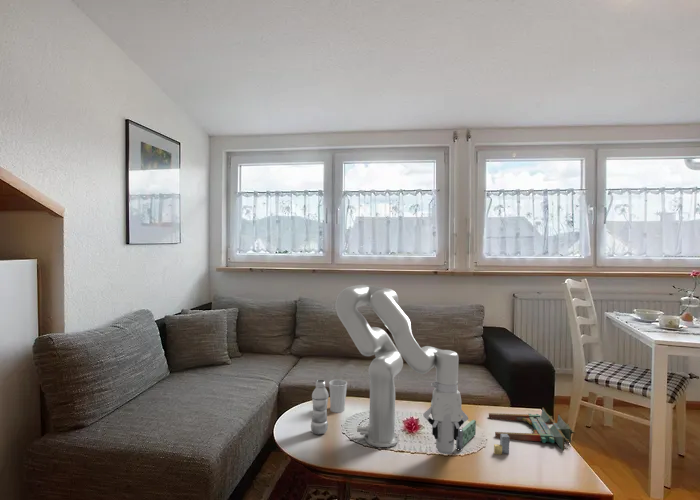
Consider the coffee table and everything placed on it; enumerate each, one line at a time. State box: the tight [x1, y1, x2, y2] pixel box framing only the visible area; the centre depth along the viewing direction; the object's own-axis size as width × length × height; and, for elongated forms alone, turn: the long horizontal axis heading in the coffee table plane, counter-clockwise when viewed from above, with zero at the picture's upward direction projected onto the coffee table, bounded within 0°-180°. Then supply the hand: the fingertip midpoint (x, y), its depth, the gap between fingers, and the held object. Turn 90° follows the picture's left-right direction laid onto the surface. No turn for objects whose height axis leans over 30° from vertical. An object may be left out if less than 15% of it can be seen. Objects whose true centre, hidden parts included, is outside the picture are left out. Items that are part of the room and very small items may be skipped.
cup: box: [328, 379, 348, 414], centre depth 176 cm, size 8×8×12 cm
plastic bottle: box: [310, 379, 330, 435], centre depth 154 cm, size 6×7×20 cm
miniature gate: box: [488, 407, 576, 451], centre depth 160 cm, size 27×6×30 cm
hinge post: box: [455, 428, 464, 450], centre depth 144 cm, size 2×2×7 cm
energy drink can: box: [435, 414, 455, 455], centre depth 139 cm, size 6×6×15 cm
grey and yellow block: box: [493, 434, 510, 456], centre depth 142 cm, size 5×3×6 cm, turn 86°
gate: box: [461, 419, 477, 447], centre depth 150 cm, size 12×1×6 cm, turn 141°
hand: (445, 437), depth 139 cm, fingers closed on energy drink can, 6 cm apart
